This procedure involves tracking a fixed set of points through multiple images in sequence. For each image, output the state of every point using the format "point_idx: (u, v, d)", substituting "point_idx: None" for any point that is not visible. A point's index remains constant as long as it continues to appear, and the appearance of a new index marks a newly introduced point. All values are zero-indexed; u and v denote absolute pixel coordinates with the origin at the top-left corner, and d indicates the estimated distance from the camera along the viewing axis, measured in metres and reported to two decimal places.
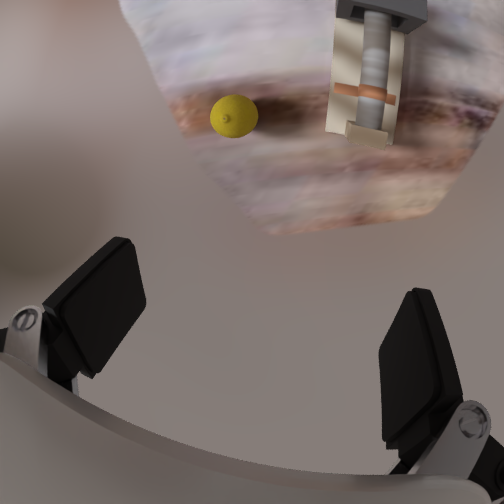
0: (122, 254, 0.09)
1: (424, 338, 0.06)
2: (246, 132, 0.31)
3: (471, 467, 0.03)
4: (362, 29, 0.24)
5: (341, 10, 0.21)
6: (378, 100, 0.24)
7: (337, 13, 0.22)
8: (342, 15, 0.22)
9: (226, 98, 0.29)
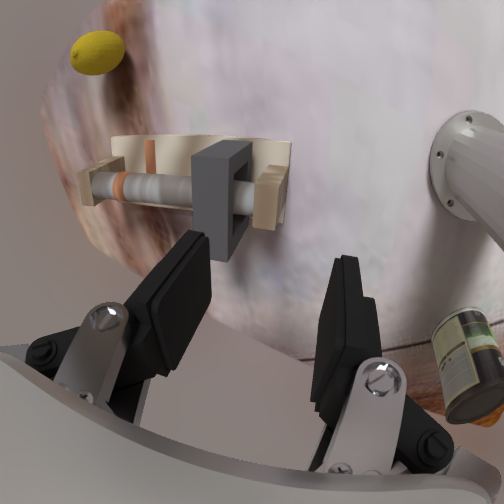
0: (200, 247, 0.09)
1: (337, 296, 0.07)
2: None
3: (372, 424, 0.04)
4: None
5: None
6: (113, 195, 0.27)
7: None
8: None
9: (101, 43, 0.19)
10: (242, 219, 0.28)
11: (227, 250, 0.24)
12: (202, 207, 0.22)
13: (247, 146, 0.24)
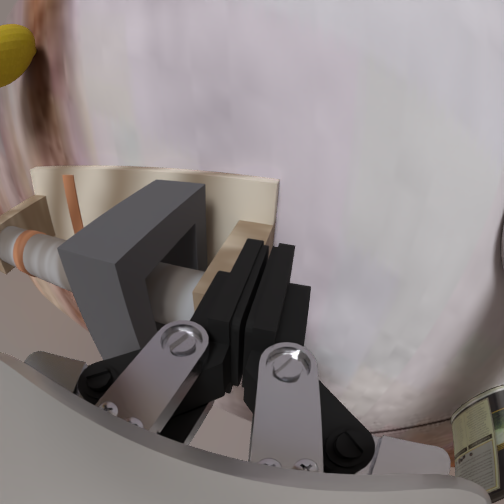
0: (264, 257, 0.09)
1: (261, 281, 0.08)
2: None
3: (265, 408, 0.05)
4: None
5: None
6: (17, 266, 0.15)
7: None
8: None
9: None
10: None
11: None
12: (101, 333, 0.11)
13: (188, 200, 0.13)
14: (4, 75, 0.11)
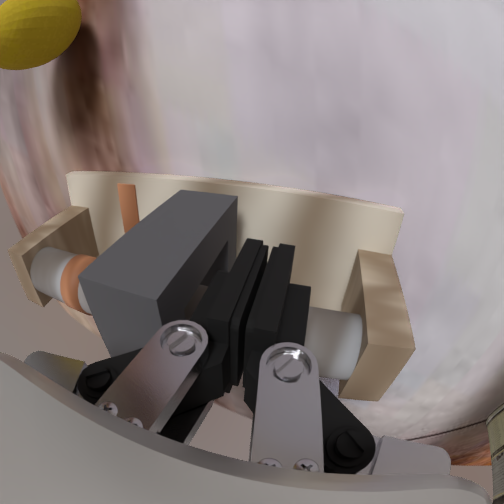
0: (263, 257, 0.09)
1: (261, 281, 0.08)
2: None
3: (266, 408, 0.05)
4: None
5: None
6: (66, 302, 0.13)
7: None
8: None
9: (28, 7, 0.06)
10: None
11: None
12: None
13: (223, 215, 0.12)
14: (42, 50, 0.09)
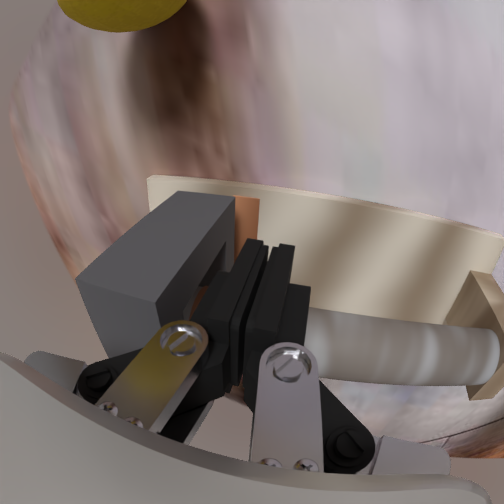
0: (263, 257, 0.09)
1: (261, 281, 0.08)
2: (77, 21, 0.07)
3: (265, 408, 0.05)
4: (395, 270, 0.15)
5: None
6: None
7: None
8: None
9: None
10: None
11: None
12: None
13: (221, 216, 0.12)
14: (155, 7, 0.07)
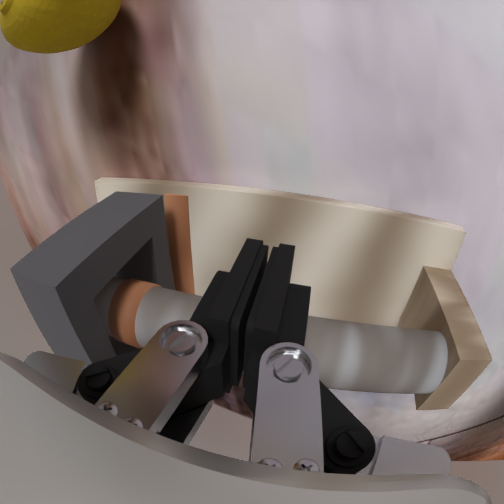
0: (263, 257, 0.09)
1: (262, 281, 0.08)
2: None
3: (266, 408, 0.05)
4: (333, 266, 0.15)
5: None
6: (114, 336, 0.12)
7: None
8: None
9: None
10: None
11: None
12: (61, 351, 0.10)
13: (141, 214, 0.12)
14: (79, 29, 0.08)
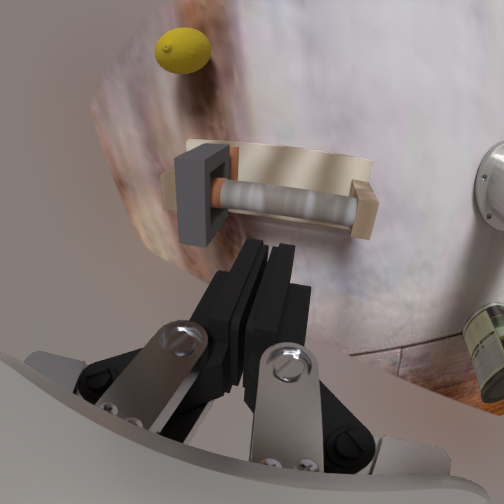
0: (263, 256, 0.09)
1: (262, 281, 0.08)
2: (162, 67, 0.24)
3: (266, 408, 0.05)
4: (306, 179, 0.32)
5: None
6: None
7: (197, 147, 0.29)
8: None
9: (196, 42, 0.21)
10: (221, 211, 0.32)
11: (205, 237, 0.28)
12: (184, 200, 0.26)
13: (224, 149, 0.29)
14: (197, 67, 0.24)
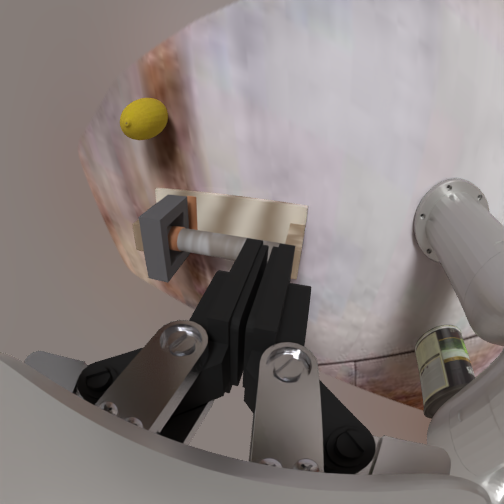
0: (263, 257, 0.09)
1: (262, 281, 0.08)
2: None
3: (266, 408, 0.05)
4: (252, 223, 0.39)
5: None
6: None
7: None
8: None
9: (150, 116, 0.29)
10: (182, 251, 0.40)
11: (167, 274, 0.36)
12: (149, 248, 0.34)
13: (180, 202, 0.36)
14: (155, 134, 0.32)
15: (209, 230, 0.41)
